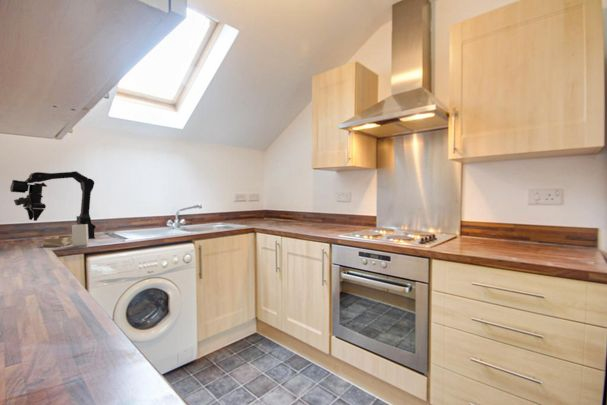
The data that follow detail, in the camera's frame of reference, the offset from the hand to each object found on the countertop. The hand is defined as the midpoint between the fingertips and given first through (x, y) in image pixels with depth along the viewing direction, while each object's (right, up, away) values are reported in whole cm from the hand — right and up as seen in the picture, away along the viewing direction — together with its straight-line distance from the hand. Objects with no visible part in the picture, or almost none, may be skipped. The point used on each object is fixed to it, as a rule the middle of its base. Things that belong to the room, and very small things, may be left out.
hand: (32, 220), depth 170 cm
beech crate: (+16, -15, +1) cm, 21 cm away
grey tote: (+30, -15, -3) cm, 34 cm away
